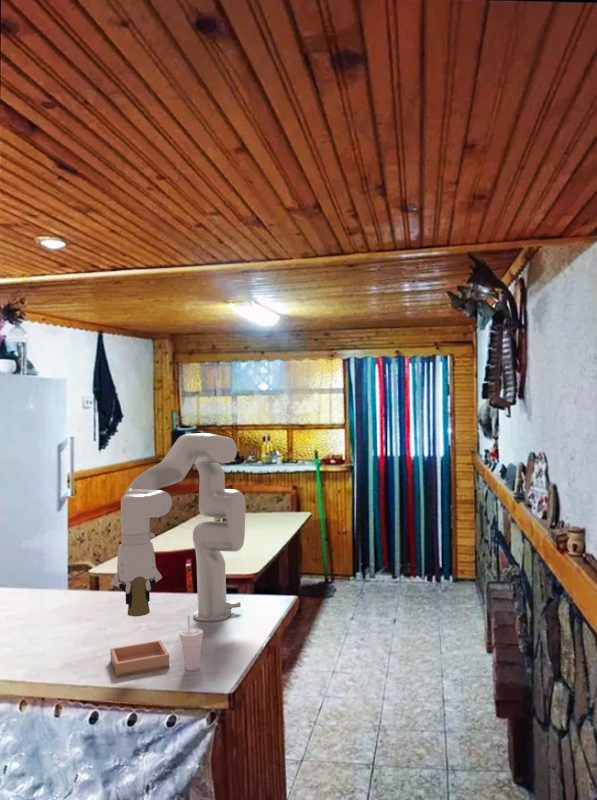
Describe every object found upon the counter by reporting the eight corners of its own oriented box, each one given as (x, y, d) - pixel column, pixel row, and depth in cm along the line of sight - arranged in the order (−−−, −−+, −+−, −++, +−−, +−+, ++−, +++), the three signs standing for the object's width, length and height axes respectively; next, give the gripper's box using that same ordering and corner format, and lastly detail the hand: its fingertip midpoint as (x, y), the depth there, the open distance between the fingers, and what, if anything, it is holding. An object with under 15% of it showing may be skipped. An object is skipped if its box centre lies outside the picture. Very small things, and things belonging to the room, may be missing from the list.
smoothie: (181, 663, 179) (180, 612, 179) (205, 662, 180) (203, 611, 180) (179, 673, 173) (177, 620, 173) (203, 671, 173) (202, 619, 173)
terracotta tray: (160, 652, 188) (160, 640, 188) (169, 667, 177) (169, 654, 177) (110, 661, 182) (110, 648, 182) (116, 677, 171) (116, 664, 171)
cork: (144, 616, 176) (143, 576, 176) (123, 616, 177) (122, 575, 177) (153, 609, 182) (152, 570, 182) (133, 608, 183) (132, 569, 183)
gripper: (163, 533, 186) (165, 597, 186) (103, 539, 180) (105, 606, 180) (168, 538, 179) (170, 604, 179) (106, 545, 173) (108, 614, 173)
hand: (137, 604), depth 179 cm, fingers closed on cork, 3 cm apart
